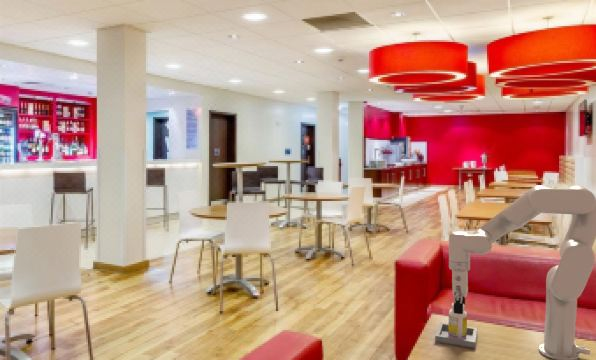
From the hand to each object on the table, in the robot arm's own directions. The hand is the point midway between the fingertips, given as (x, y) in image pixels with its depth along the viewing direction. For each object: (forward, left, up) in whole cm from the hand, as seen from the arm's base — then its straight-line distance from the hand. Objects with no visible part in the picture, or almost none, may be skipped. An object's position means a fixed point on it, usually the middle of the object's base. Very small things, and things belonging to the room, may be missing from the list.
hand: (459, 309), depth 182 cm
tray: (+1, 0, -12) cm, 12 cm away
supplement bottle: (+1, 0, -11) cm, 11 cm away
